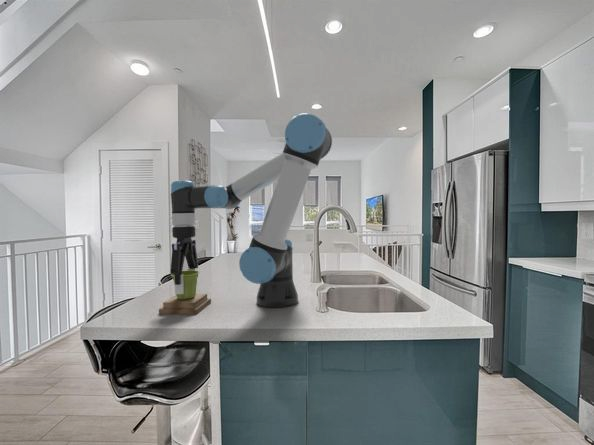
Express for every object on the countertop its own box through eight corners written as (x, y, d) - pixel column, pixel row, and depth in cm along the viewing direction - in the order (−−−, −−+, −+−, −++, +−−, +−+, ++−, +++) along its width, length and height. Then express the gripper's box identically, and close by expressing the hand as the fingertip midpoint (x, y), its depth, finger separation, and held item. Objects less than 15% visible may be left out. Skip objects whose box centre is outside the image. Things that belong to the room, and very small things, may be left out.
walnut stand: (211, 302, 117) (210, 293, 116) (196, 314, 104) (196, 303, 104) (177, 302, 118) (176, 293, 118) (158, 313, 105) (158, 303, 105)
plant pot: (191, 301, 105) (190, 275, 105) (166, 300, 107) (165, 275, 107) (205, 294, 114) (204, 270, 114) (181, 293, 116) (180, 270, 116)
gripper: (187, 224, 121) (189, 283, 122) (156, 227, 99) (159, 298, 100) (206, 224, 120) (207, 283, 121) (179, 227, 98) (182, 298, 99)
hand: (186, 290), depth 110 cm, fingers closed on plant pot, 9 cm apart
